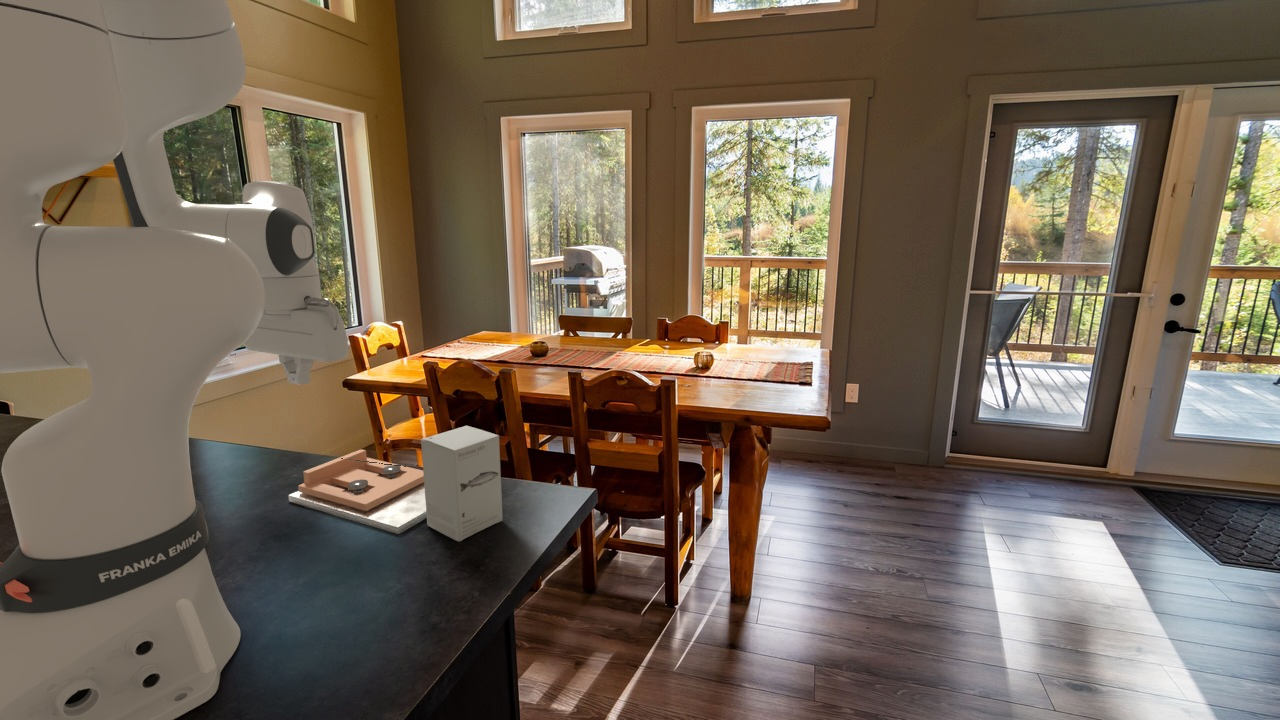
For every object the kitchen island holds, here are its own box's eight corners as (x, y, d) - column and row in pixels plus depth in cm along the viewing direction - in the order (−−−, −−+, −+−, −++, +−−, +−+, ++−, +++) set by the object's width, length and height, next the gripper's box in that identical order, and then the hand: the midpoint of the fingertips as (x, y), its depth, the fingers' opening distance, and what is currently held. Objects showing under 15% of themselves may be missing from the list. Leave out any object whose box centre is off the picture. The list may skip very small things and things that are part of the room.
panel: (366, 511, 78) (364, 492, 78) (298, 491, 84) (296, 474, 83) (431, 478, 89) (429, 461, 88) (367, 463, 94) (366, 447, 94)
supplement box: (459, 544, 72) (452, 450, 70) (425, 526, 77) (418, 437, 74) (505, 521, 78) (500, 434, 76) (471, 506, 83) (466, 423, 80)
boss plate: (398, 534, 75) (396, 511, 74) (289, 501, 84) (286, 481, 83) (471, 491, 87) (470, 472, 86) (369, 467, 96) (367, 449, 95)
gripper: (354, 296, 84) (363, 386, 87) (266, 289, 93) (277, 371, 96) (315, 301, 79) (326, 397, 82) (225, 293, 87) (238, 380, 90)
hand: (299, 383), depth 89 cm, fingers closed
